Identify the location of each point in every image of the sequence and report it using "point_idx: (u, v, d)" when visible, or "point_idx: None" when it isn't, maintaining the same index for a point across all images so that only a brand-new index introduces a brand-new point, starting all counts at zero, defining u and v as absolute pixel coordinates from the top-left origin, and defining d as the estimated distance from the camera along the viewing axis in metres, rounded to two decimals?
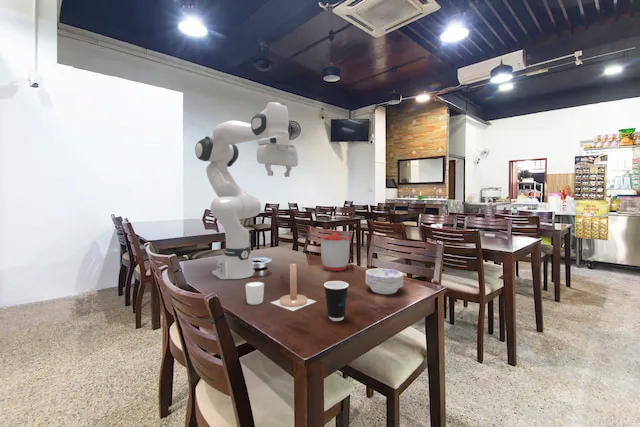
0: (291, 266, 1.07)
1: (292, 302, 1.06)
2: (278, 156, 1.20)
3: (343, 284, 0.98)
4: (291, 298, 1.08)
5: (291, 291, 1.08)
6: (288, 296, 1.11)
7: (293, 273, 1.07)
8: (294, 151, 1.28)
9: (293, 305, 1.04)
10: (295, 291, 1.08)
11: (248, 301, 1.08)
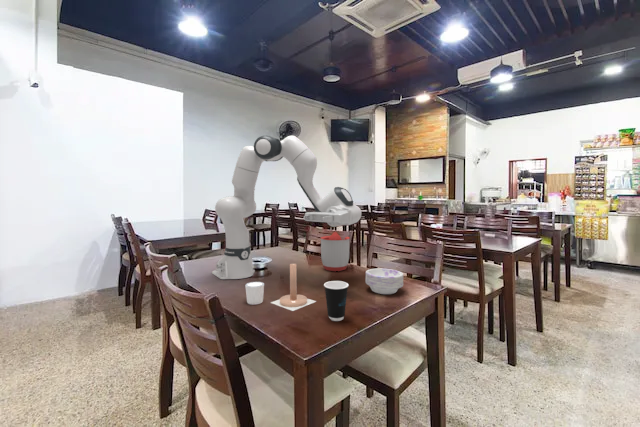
0: (291, 266, 1.07)
1: (292, 302, 1.06)
2: None
3: (343, 284, 0.98)
4: (291, 298, 1.08)
5: (291, 291, 1.08)
6: (288, 296, 1.11)
7: (293, 273, 1.07)
8: None
9: (293, 305, 1.04)
10: (295, 291, 1.08)
11: (248, 301, 1.08)
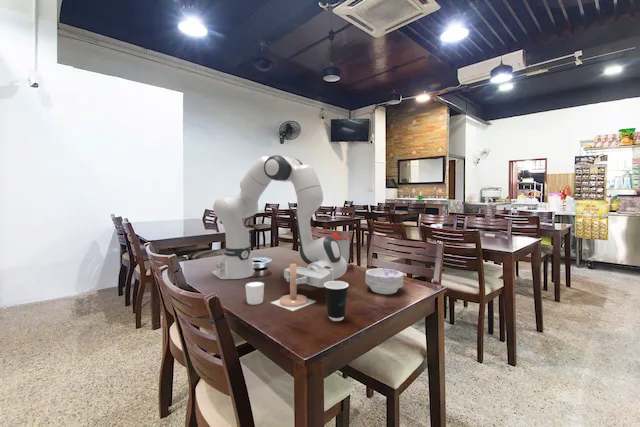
0: (291, 266, 1.07)
1: (292, 302, 1.06)
2: None
3: (343, 284, 0.98)
4: (291, 298, 1.08)
5: (291, 291, 1.08)
6: (288, 296, 1.11)
7: (293, 273, 1.07)
8: None
9: (293, 305, 1.04)
10: (295, 291, 1.08)
11: (248, 301, 1.08)
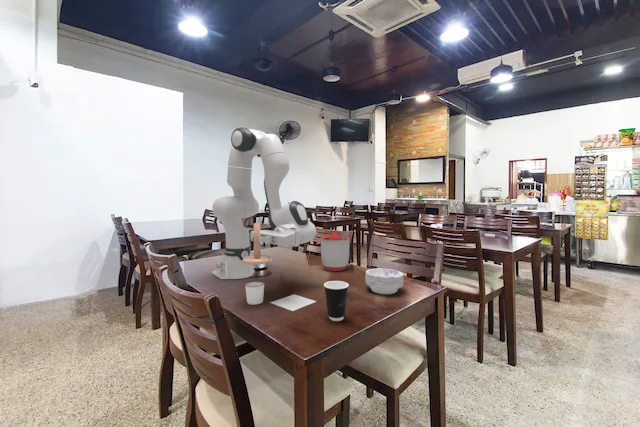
0: (255, 225, 1.07)
1: (254, 260, 1.06)
2: None
3: (343, 284, 0.98)
4: (255, 257, 1.08)
5: (255, 250, 1.08)
6: (253, 256, 1.11)
7: (257, 231, 1.07)
8: None
9: (255, 262, 1.04)
10: (259, 250, 1.08)
11: (248, 301, 1.08)
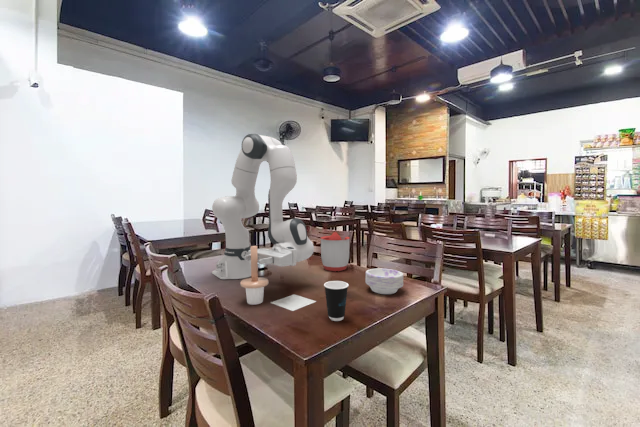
0: (252, 248, 1.07)
1: (252, 283, 1.06)
2: None
3: (343, 284, 0.98)
4: (252, 280, 1.08)
5: (252, 273, 1.08)
6: (250, 279, 1.12)
7: (254, 255, 1.07)
8: None
9: (252, 286, 1.04)
10: (256, 273, 1.08)
11: (248, 301, 1.08)
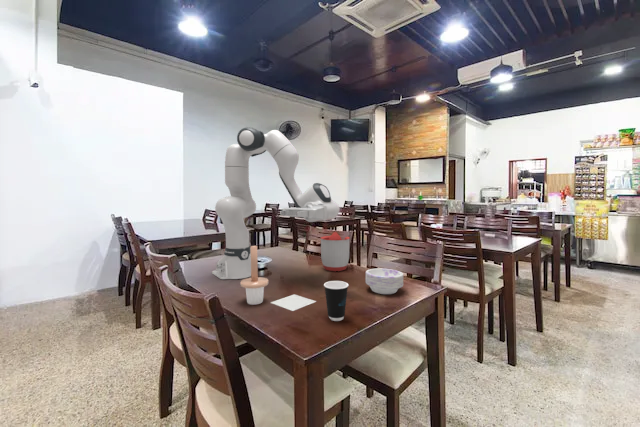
0: (251, 248, 1.07)
1: (252, 283, 1.06)
2: None
3: (343, 284, 0.98)
4: (252, 280, 1.08)
5: (252, 273, 1.08)
6: (250, 279, 1.12)
7: (254, 255, 1.07)
8: None
9: (252, 286, 1.04)
10: (256, 273, 1.08)
11: (248, 301, 1.08)
